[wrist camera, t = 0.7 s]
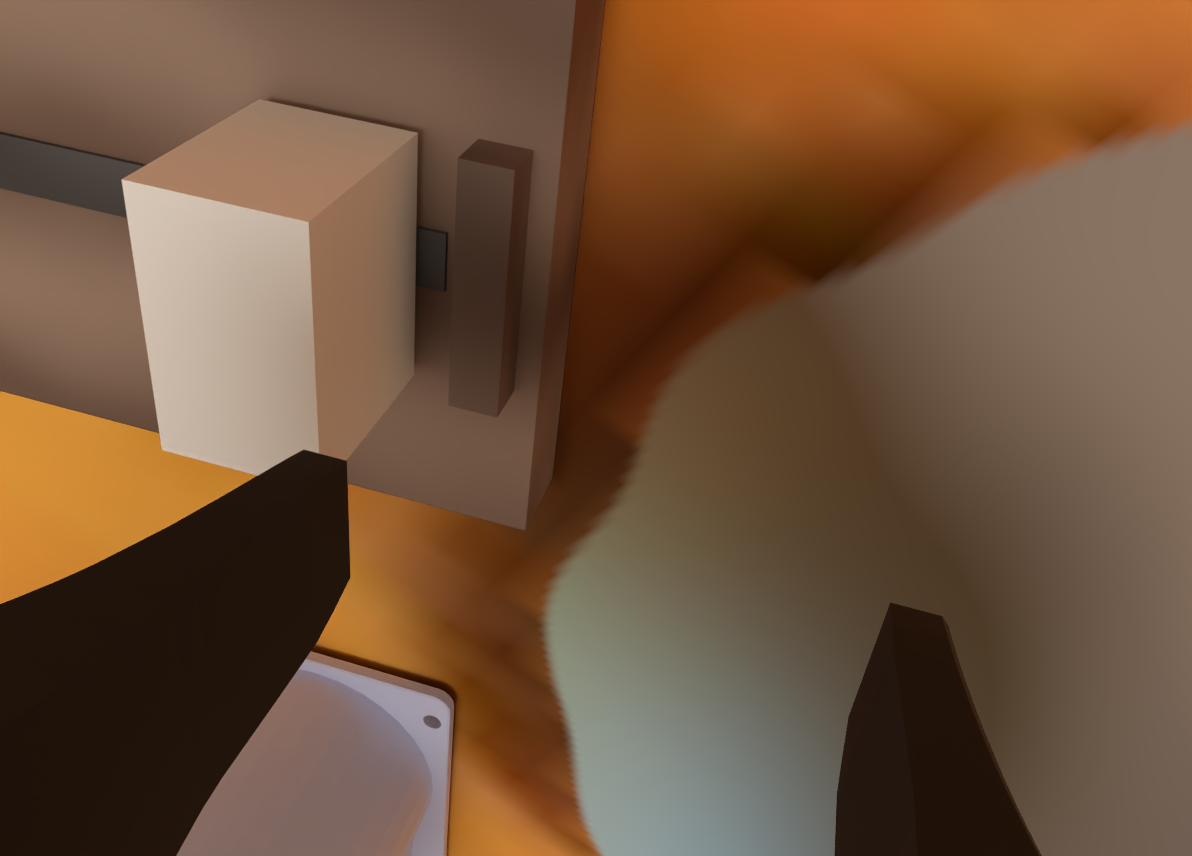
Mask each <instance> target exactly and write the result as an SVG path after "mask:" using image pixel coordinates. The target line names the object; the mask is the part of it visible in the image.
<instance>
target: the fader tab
mask: <svg viewBox="0 0 1192 856" xmlns="http://www.w3.org/2000/svg"><path fill="white" fill-rule="evenodd" d="M417 159H418V133H417V132H412V131H407V130H403V129H398V128H393V127H388V126H384V125H379V124H374V123H369V122H365V121H360V120H355V119H350V118H346V117H341V116H336V115H332V114H327V113H322V112H317V111H313V110H308V109H303V108H298V107H294V106H289V105H284V104H280V103H275V102H270V101H265V100H261V99H259V100H257V101H255V102H254V103H252V104H250V105H249V106H247V107H245V108H243V109H242V110H240V111H238V112H237V113H235V114H233V115H231V116H230V117H228V118H226V119H225V120H223V121H221V122H219V123H218V124H216V125H214V126H212V127H211V128H209V129H207V130H206V131H204V132H202V133H200V134H199V135H197V136H195V137H194V138H192V139H190V140H188V141H187V142H185V143H183V144H182V145H180V146H178V147H176V148H175V149H173V150H171V151H169V152H168V153H166V154H164V155H163V156H161V157H159V158H157V159H156V160H154V161H152V162H151V163H149V164H147V165H145V166H144V167H142V168H140V169H139V170H137V171H135V172H133V173H132V174H130V175H128V176H126V177H125V178H123V179H121V180H122V186H123V193H124V200H125V206H126V213H127V220H128V226H129V233H130V240H131V246H132V253H133V260H134V266H135V273H136V280H137V286H138V293H139V300H140V306H141V313H142V320H143V326H144V333H145V340H146V347H147V353H148V360H149V367H150V373H151V380H152V387H153V393H154V400H155V407H156V413H157V420H158V427H159V433H160V440H161V447H162V450H164V451H168V452H171V453H175V454H179V455H182V456H186V457H190V458H194V459H197V460H201V461H205V462H208V463H212V464H216V465H220V466H223V467H227V468H231V469H235V470H238V471H242V472H246V473H249V474H253V475H257V476H258V475H260V474H261V473H263V472H265V471H267V470H268V469H270V468H272V467H273V466H275V465H277V464H279V463H280V462H282V461H284V460H286V459H287V458H289V457H291V456H293V455H295V454H296V453H298V452H300V451H302V450H308V451H311V452H315V453H319V454H323V455H327V456H331V457H334V458H338V459H342V460H347V459H348V458H349V457H350V455H351V454H352V453H353V452H354V450H355V449H356V448H357V447H358V445H359V444H360V443H361V442H362V440H363V439H364V438H365V436H366V435H367V434H368V433H369V431H370V430H371V429H372V428H373V426H374V425H375V424H376V423H377V421H378V420H379V419H380V418H381V416H382V415H383V414H384V413H385V411H386V410H387V409H388V407H389V406H390V405H391V404H392V402H393V401H394V400H395V399H396V397H397V396H398V395H399V394H400V392H401V391H402V390H403V389H404V387H405V386H406V385H407V383H408V382H409V381H410V380H411V378H412V377H413V376H414V344H415V282H416V221H417Z"/></svg>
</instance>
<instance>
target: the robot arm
mask: <svg viewBox="0 0 1192 856" xmlns="http://www.w3.org/2000/svg"><path fill="white" fill-rule="evenodd" d="M349 579H350V551H349V517H348V483H347V461H346V460H342V459H338V458H334V457H331V456H327V455H323V454H319V453H315V452H311V451H308V450H302V451H300V452H298V453H296V454H295V455H293V456H291V457H289V458H287V459H286V460H284V461H282V462H280V463H279V464H277V465H275V466H273V467H272V468H270V469H268V470H267V471H265V472H263V473H261V474H260V475H258V476H256V477H255V478H253V479H251V480H250V481H248V482H246V483H244V484H243V485H241V486H239V487H238V488H236V489H234V490H232V491H231V492H229V493H227V494H226V495H224V496H222V497H220V498H219V499H217V500H215V501H213V502H212V503H210V504H208V505H206V506H204V507H203V508H201V509H199V510H197V511H196V512H194V513H192V514H190V515H188V516H187V517H185V518H183V519H181V520H180V521H178V522H176V523H174V524H173V525H171V526H169V527H167V528H165V529H163V530H161V531H159V532H157V533H155V534H153V535H151V536H149V537H147V538H145V539H143V540H142V541H140V542H138V543H136V544H134V545H132V546H130V547H128V548H126V549H124V550H122V551H120V552H118V553H116V554H114V555H112V556H110V557H108V558H106V559H104V560H102V561H100V562H98V563H96V564H94V565H92V566H90V567H88V568H85V569H83V570H81V571H79V572H77V573H75V574H72V575H70V576H68V577H66V578H63V579H61V580H59V581H56V582H54V583H52V584H49V585H47V586H44V587H42V588H40V589H37V590H35V591H32V592H30V593H27V594H25V595H22V596H20V597H18V598H15V599H13V600H10V601H7V602H5V603H2V604H0V856H446V853H447V834H448V815H449V796H450V777H451V758H452V739H453V720H454V702H453V700H452V698H451V697H450V695H449V694H447V693H446V692H445V691H443V690H441V689H438V688H435V687H431V686H428V685H425V684H421V683H418V682H414V681H411V680H408V679H404V678H401V677H397V676H394V675H391V674H387V673H384V672H380V671H377V670H374V669H370V668H367V667H363V666H360V665H356V664H353V663H350V662H346V661H343V660H339V659H336V658H333V657H329V656H326V655H322V654H319V653H316V652H312V651H311V650H312V649H313V647H314V646H315V644H316V643H317V641H318V639H319V637H320V635H321V634H322V632H323V630H324V628H325V626H326V624H327V622H328V621H329V619H330V617H331V615H332V613H333V611H334V609H335V607H336V605H337V603H338V601H339V599H340V597H341V595H342V593H343V591H344V589H345V587H346V585H347V583H348V581H349ZM835 835H836V836H835V856H1041V854H1040V852H1039V850H1038V848H1037V846H1036V844H1035V842H1034V840H1033V838H1032V836H1031V834H1030V832H1029V830H1028V828H1027V826H1026V824H1025V822H1024V820H1023V818H1022V816H1021V814H1020V812H1019V810H1018V808H1017V806H1016V803H1015V801H1014V799H1013V797H1012V795H1011V793H1010V790H1009V788H1008V786H1007V784H1006V782H1005V779H1004V777H1003V775H1002V772H1001V770H1000V768H999V765H998V763H997V761H996V758H995V756H994V753H993V751H992V749H991V746H990V744H989V742H988V739H987V737H986V734H985V732H984V730H983V727H982V724H981V722H980V720H979V717H978V714H977V712H976V709H975V706H974V703H973V701H972V698H971V695H970V692H969V690H968V687H967V684H966V681H965V679H964V676H963V672H962V669H961V666H960V663H959V660H958V657H957V654H956V651H955V647H954V644H953V641H952V637H951V634H950V630H949V626H948V625H947V623H946V621H945V620H944V618H943V617H942V616H939V615H935V614H931V613H927V612H924V611H920V610H916V609H912V608H909V607H905V606H901V605H897V604H893V603H890V605H889V608H888V611H887V613H886V616H885V619H884V622H883V625H882V627H881V630H880V633H879V635H878V638H877V641H876V644H875V646H874V649H873V652H872V655H871V657H870V660H869V663H868V665H867V668H866V671H865V674H864V676H863V679H862V682H861V684H860V687H859V690H858V693H857V696H856V698H855V701H854V704H853V706H852V709H851V712H850V715H849V719H848V725H847V731H846V738H845V744H844V751H843V757H842V764H841V771H840V777H839V784H838V791H837V809H836V834H835Z"/></svg>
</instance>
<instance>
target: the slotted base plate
mask: <svg viewBox="0 0 1192 856" xmlns="http://www.w3.org/2000/svg"><path fill="white" fill-rule="evenodd" d="M604 6H605V0H0V391H3V392H7V393H10V394H14V395H18V396H22V397H25V398H29V399H33V400H37V401H40V402H44V403H48V404H52V405H55V406H59V407H63V408H67V409H70V410H74V411H78V412H82V413H85V414H89V415H93V416H97V417H100V418H104V419H108V420H112V421H115V422H119V423H123V424H127V425H130V426H134V427H138V428H142V429H145V430H149V431H153V432H157V433H159V427H158V420H157V413H156V407H155V400H154V393H153V387H152V380H151V373H150V367H149V360H148V353H147V347H146V340H145V333H144V326H143V320H142V313H141V306H140V300H139V293H138V286H137V280H136V273H135V266H134V260H133V253H132V246H131V240H130V233H129V226H128V220H127V213H126V206H125V200H124V193H123V186H122V180H121V179H123V178H125V177H126V176H128V175H130V174H132V173H133V172H135V171H137V170H139V169H140V168H142V167H144V166H145V165H147V164H149V163H151V162H152V161H154V160H156V159H157V158H159V157H161V156H163V155H164V154H166V153H168V152H169V151H171V150H173V149H175V148H176V147H178V146H180V145H182V144H183V143H185V142H187V141H188V140H190V139H192V138H194V137H195V136H197V135H199V134H200V133H202V132H204V131H206V130H207V129H209V128H211V127H212V126H214V125H216V124H218V123H219V122H221V121H223V120H225V119H226V118H228V117H230V116H231V115H233V114H235V113H237V112H238V111H240V110H242V109H243V108H245V107H247V106H249V105H250V104H252V103H254V102H255V101H257V100H259V99H261V100H265V101H270V102H275V103H280V104H284V105H289V106H294V107H298V108H303V109H308V110H313V111H317V112H322V113H327V114H332V115H336V116H341V117H346V118H350V119H355V120H360V121H365V122H369V123H374V124H379V125H384V126H388V127H393V128H398V129H403V130H407V131H412V132H417V133H418V159H417V221H416V282H415V344H414V376H413V377H412V378H411V380H410V381H409V382H408V383H407V385H406V386H405V387H404V389H403V390H402V391H401V392H400V394H399V395H398V396H397V397H396V399H395V400H394V401H393V402H392V404H391V405H390V406H389V407H388V409H387V410H386V411H385V413H384V414H383V415H382V416H381V418H380V419H379V420H378V421H377V423H376V424H375V425H374V426H373V428H372V429H371V430H370V431H369V433H368V434H367V435H366V436H365V438H364V439H363V440H362V442H361V443H360V444H359V445H358V447H357V448H356V449H355V450H354V452H353V453H352V454H351V455H350V457H349V458H348V459H347V460H346V461H347V483H348V484H352V485H356V486H359V487H363V488H367V489H371V490H374V491H378V492H382V493H386V494H389V495H393V496H397V497H401V498H404V499H408V500H412V501H416V502H419V503H423V504H427V505H431V506H434V507H438V508H442V509H446V510H449V511H453V512H457V513H461V514H464V515H468V516H472V517H476V518H479V519H483V520H487V521H491V522H494V523H498V524H502V525H506V526H510V527H513V528H517V529H521V530H526V528H527V526H528V524H529V522H530V520H531V519H532V517H533V515H534V513H535V511H536V509H537V507H538V505H539V503H540V501H541V499H542V497H543V495H544V493H545V491H546V489H547V487H548V485H549V483H550V481H551V479H552V477H553V468H554V459H555V450H556V441H557V432H558V423H559V413H560V404H561V395H562V386H563V377H564V368H565V359H566V350H567V341H568V332H569V323H570V314H571V305H572V296H573V287H574V278H575V269H576V260H577V251H578V242H579V233H580V223H581V214H582V205H583V196H584V187H585V178H586V169H587V160H588V151H589V142H590V133H591V124H592V115H593V106H594V97H595V88H596V79H597V70H598V61H599V52H600V43H601V34H602V24H603V15H604Z"/></svg>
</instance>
